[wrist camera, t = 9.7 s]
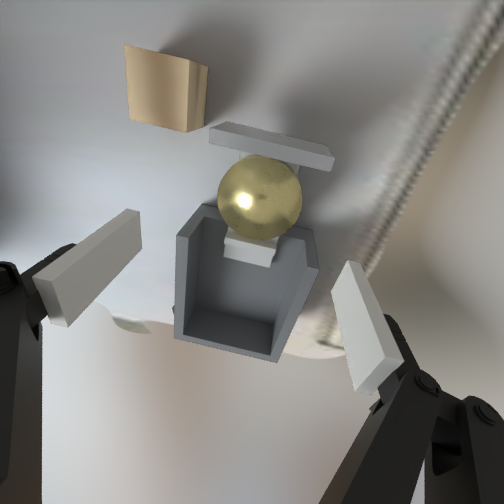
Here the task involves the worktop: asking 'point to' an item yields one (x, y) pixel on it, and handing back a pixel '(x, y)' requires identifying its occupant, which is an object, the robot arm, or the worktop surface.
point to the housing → (239, 289)
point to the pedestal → (165, 89)
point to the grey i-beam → (272, 147)
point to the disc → (260, 197)
